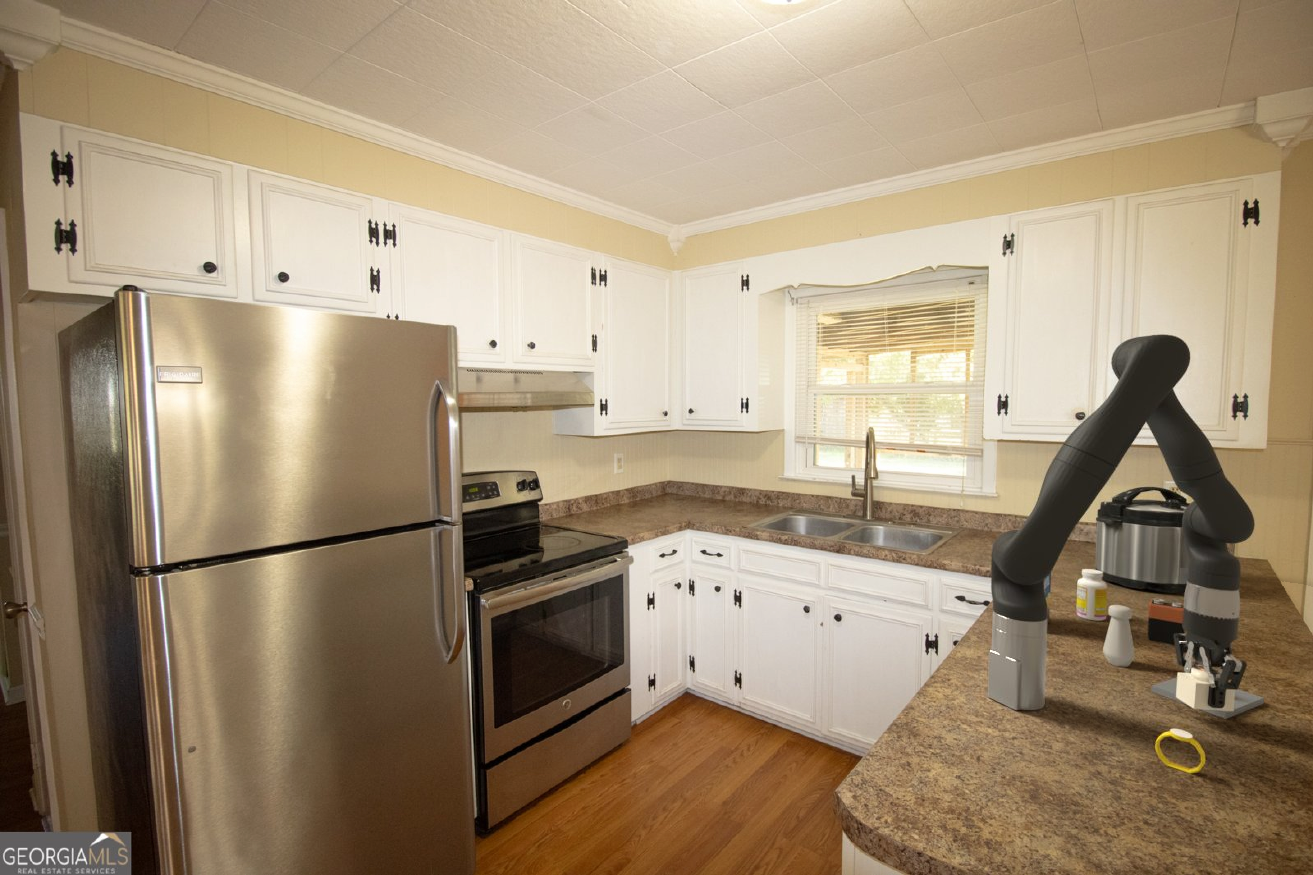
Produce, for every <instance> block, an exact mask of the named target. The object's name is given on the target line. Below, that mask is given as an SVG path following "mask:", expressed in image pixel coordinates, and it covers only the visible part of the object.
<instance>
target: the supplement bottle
mask: <svg viewBox="0 0 1313 875" xmlns="http://www.w3.org/2000/svg"><path fill="white" fill-rule="evenodd" d="M1081 576H1082V577H1081V578H1079V579H1078V580H1077V585H1076V586H1077V587H1076V589H1077V590H1076V614H1077V615H1078V617H1080V618H1082V619H1084V620H1091V621H1098V622H1099V621H1101V622H1102V621H1105V620H1107V610H1108V609H1107V608H1108V606H1107V600H1108V598H1107V597H1108V595H1107V594H1108V592H1107V591H1108V586H1107V585H1108V584H1107V583H1106V581H1103V579H1102V577H1103V572H1101V571H1098V570H1096V569H1093V568H1092V569H1090V568H1082V569H1081Z"/></svg>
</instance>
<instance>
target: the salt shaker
mask: <svg viewBox="0 0 1313 875" xmlns="http://www.w3.org/2000/svg"><path fill="white" fill-rule="evenodd" d="M1107 611H1108V615H1109V616H1110V621H1109V624H1108V628H1107V632H1106V636H1105V638H1104V639H1105V640H1104V644H1103V647H1102V654H1103V655H1104V656H1105V658H1106V660H1107V662H1108V664H1110V665H1113V666H1116V667H1122V668H1123V667H1124V668H1127V667H1129V666H1130V665H1131V664H1132V662H1133V661H1134V659H1135V657H1136V655H1135V654H1136V653H1135V648H1134V642H1133V636H1132V631H1131V625H1130V619H1132V617H1133V610H1132V609H1131V608H1130V607H1128V606H1125V605H1121V604H1111V605H1110V606H1108V609H1107Z"/></svg>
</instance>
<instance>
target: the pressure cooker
mask: <svg viewBox="0 0 1313 875" xmlns="http://www.w3.org/2000/svg"><path fill="white" fill-rule="evenodd" d="M1151 491H1157V492H1159V493H1160V494H1161V496H1162V497H1163V499H1164V500H1157V499H1136V498H1137V497H1138V496H1139V495H1140V494H1142V493H1147V492H1151ZM1187 500H1188V499H1187V498H1186V497H1184V496H1183V495H1181V494H1179V493H1178V492H1175V491H1173V490H1171V489H1167V488H1164V487H1158V486H1141V487H1134V488H1130V489H1127V490H1125V491H1122V492H1120V493H1118V494H1116V495H1114V496H1113V497H1111V500H1107V501H1101V502H1100V506H1099V509H1097V514H1096V517H1095V521H1096V527H1095V528H1096V536H1095V538H1096V540H1095V565H1094V566H1095V570H1098V571H1101V572H1103V577H1102V580H1105V582H1111V583H1115V584H1118V585H1121V586H1124V587H1128V588H1132V589H1137V590H1146V589H1148V590H1153V591H1157V592H1163V593H1171V594H1172V593H1173V594H1185V590H1186V586H1187V581H1188V566H1189V556H1188V552H1187V549H1186V544H1185V539H1184V534H1183V528H1182V518H1183V514H1184V511H1185V509H1186V508H1187V506H1188V505H1189V504H1190V503H1191V502H1188V501H1187Z"/></svg>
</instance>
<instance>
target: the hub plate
mask: <svg viewBox="0 0 1313 875" xmlns="http://www.w3.org/2000/svg"><path fill="white" fill-rule="evenodd" d="M1150 687H1151V688H1150V689H1151V690H1150V691H1151V693H1155V694H1158V695H1159V696H1162V697H1164V698H1169V699H1170V700H1173V701H1176V702H1178V703H1181V704H1184V705H1187V704H1186V703H1184V702H1183V701H1181V700H1179V699H1178V698H1176V688H1177V676H1176V677H1173V678H1171V679H1167V680H1165V681H1161V682H1159V683H1156V684H1153V685H1151V686H1150ZM1264 702H1265V697H1263V696H1260V695H1258V694H1254V693H1252V692H1251V693H1250V692H1247V691H1245V690H1241V689H1239V688H1238V689H1237V690H1235V699H1234V711H1221V710H1204V709H1199V710H1200V711H1203V712H1205V713H1208V714H1212V715H1214V716H1217V717H1219V718H1222V719H1224V720H1227V719H1229V718H1231V717H1235V716H1236V715H1237V716H1238V715H1240V714H1241V713H1244V712H1247V711H1249V710H1252V709H1254V708H1257V707H1259V706H1262V705H1264ZM1187 706H1188V705H1187Z"/></svg>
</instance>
